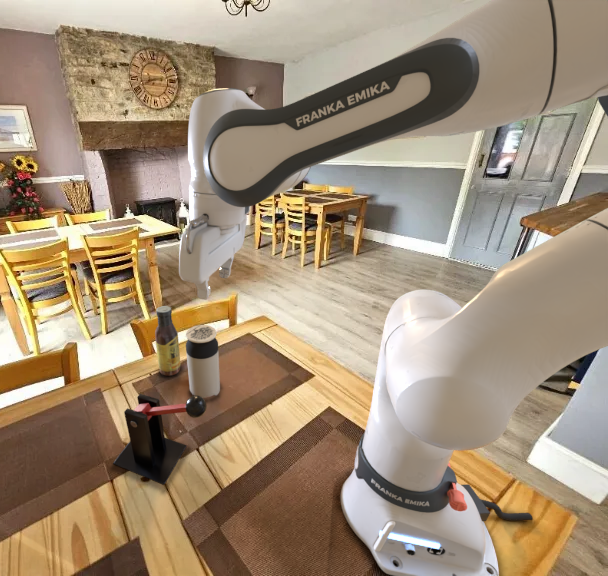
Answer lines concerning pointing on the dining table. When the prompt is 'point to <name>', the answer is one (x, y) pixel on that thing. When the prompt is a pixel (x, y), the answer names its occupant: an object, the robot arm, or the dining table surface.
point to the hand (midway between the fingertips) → (215, 286)
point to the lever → (176, 408)
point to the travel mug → (203, 361)
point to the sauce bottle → (167, 343)
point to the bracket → (149, 445)
